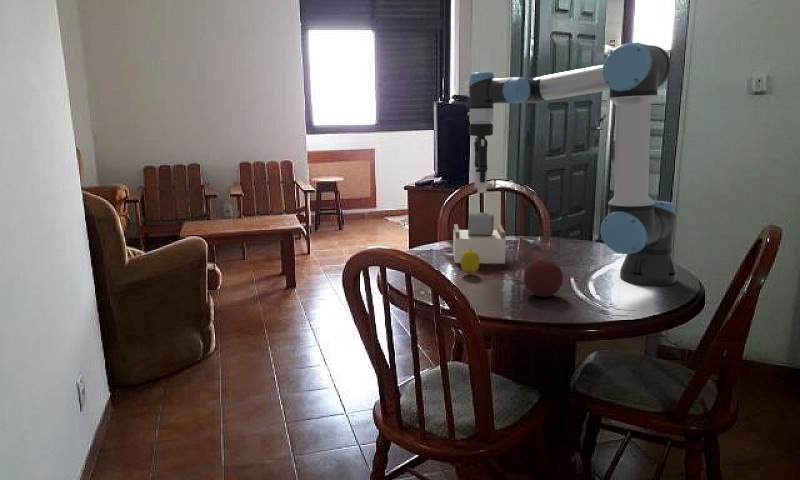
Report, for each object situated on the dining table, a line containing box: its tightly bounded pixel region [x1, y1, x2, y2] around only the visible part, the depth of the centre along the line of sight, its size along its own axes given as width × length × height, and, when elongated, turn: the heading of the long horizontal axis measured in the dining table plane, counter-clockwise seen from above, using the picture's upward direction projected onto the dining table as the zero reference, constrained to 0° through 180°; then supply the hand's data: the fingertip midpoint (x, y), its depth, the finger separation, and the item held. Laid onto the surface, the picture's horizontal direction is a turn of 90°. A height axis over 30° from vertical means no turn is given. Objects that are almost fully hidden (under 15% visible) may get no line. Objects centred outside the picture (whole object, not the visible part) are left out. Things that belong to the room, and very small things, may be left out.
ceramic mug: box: [467, 211, 495, 236], centre depth 205 cm, size 11×8×8 cm
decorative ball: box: [523, 258, 564, 298], centre depth 166 cm, size 10×10×10 cm
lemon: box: [460, 249, 480, 276], centre depth 187 cm, size 6×6×8 cm
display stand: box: [452, 223, 507, 264], centre depth 207 cm, size 14×16×10 cm
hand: (480, 190), depth 203 cm, fingers open, 13 cm apart
